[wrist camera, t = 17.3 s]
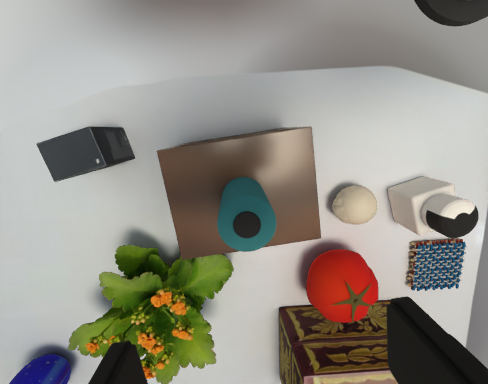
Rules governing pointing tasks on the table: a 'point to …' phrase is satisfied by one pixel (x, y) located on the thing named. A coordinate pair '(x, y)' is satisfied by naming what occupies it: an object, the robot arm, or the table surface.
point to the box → (85, 151)
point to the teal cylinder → (245, 215)
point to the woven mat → (436, 264)
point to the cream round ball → (355, 205)
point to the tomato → (341, 286)
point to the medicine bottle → (432, 208)
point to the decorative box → (333, 347)
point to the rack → (241, 165)
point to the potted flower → (157, 310)
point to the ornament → (44, 371)
